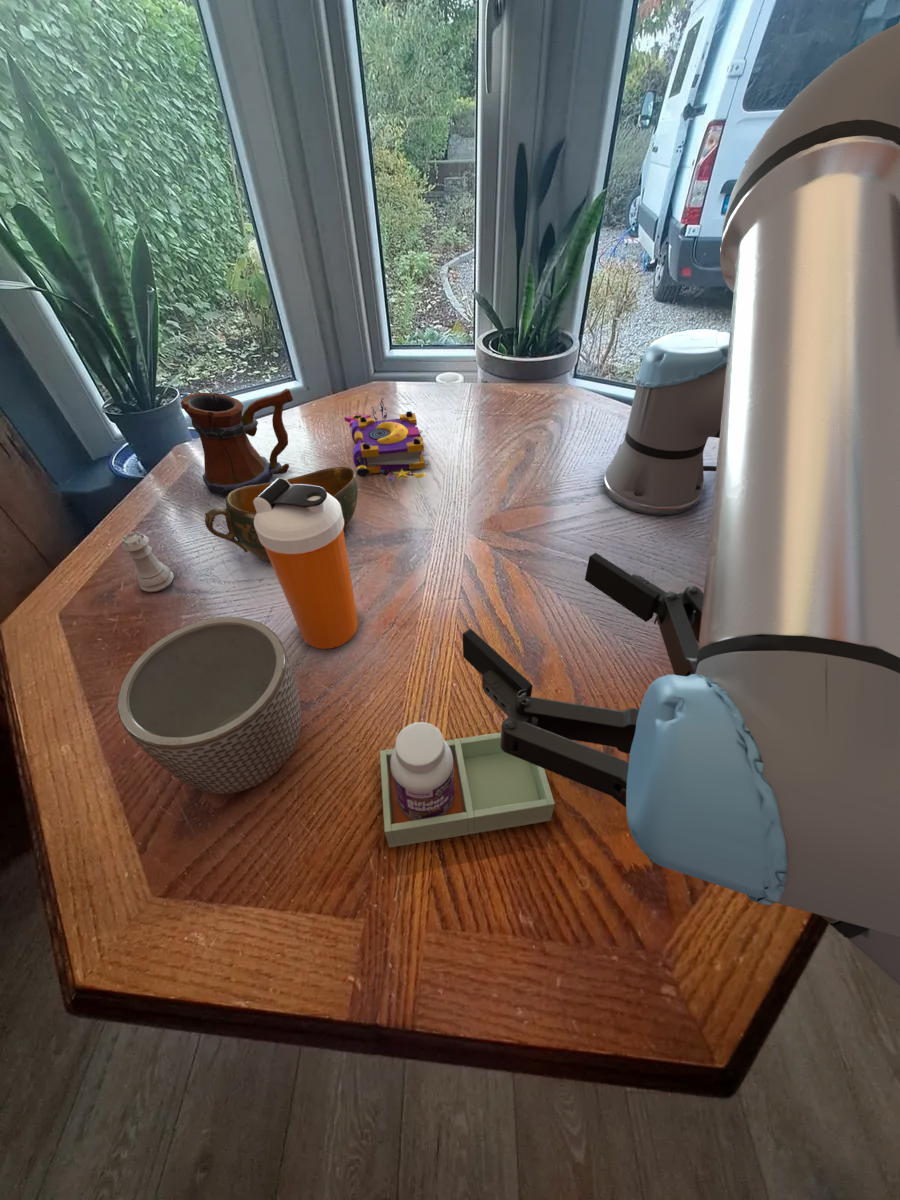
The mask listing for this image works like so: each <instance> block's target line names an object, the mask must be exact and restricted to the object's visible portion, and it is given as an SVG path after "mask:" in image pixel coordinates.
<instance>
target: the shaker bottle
mask: <svg viewBox="0 0 900 1200" xmlns="http://www.w3.org/2000/svg"><path fill="white" fill-rule="evenodd" d="M272 482H273V483H272ZM272 482H270V483H271V484H270V485H269V486H268V487H267V488H266V489H265V490H264V491H262V492H261V493H260V494H259V495H258V496H257V497H256V498H255V499H254V501H253V503H254V506H255V509H256V512H257V513H256V515H255V518H254V527H255V530H256V532H257V535H258V539H259V541H260V543H261V545H263V546H264V547H265V550H266V552H267V554H268V557H269V559H270V561H271V563H270V564H271V566H272V568H273V571H274V574H275V575H276V578H277V581H278V582H279V585H280V587H281V590H282V592H283V594H284V597H285V599H286V602H287V604H288V606H289V608H290V609H289V610H290V611H291V613H292V616H293V618H294V621H295V623H296V626H297V628H298V630H299V633H300V635H301V638H302V639H303V641H304V642H305V643H306V644H307V645H309V646H310V647H313V648H315V649H321V650H322V649H323V650H329V649H333V648H334V649H335V648H338V647H340V646H342V645H345V644H346V643H347V642H349V641H350V640H351V639H353V637H354V636H355V634H356V633H357V630H358V626H359V622H358V621H359V620H358V614H357V607H356V601H355V595H354V589H353V582H352V575H351V570H350V563H349V557H348V551H347V550H348V549H347V545H346V538H345V532H344V531H343V528H344V518H343V514H342V509H341V506H340V503H339V502H338V501H337V499H335V498H334V497H333V496H331V495H330V494H329V493H327V492H326V490H325V489H324V488H322V487H319V486H313V485H303V484H290V483H289V482H288V481H287V479H285V478H283V477H277V478H276V479H274V480H273V481H272Z"/></svg>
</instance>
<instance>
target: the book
mask: <svg viewBox="0 0 900 1200" xmlns="http://www.w3.org/2000/svg"><path fill="white" fill-rule="evenodd" d="M384 400H385V399H384V398H383V397H381V400H380V403H379V405H380V408H381V409H380V412H381V417H382V419H381V420H378V417H376V416H375V414H377V411H375V408H374V406H371V409H370V410H372V415H371V414H361V413H359V412H358V411H357V412H355V414H354V415H352V416H351V415H350V416H344V417H343V419H344V422H346V423H349V428H350V431H351V439H352V441H353V443H354V444H355V445H354V447H353V450H352V457H353V464H354V467H355V468H356V476H359V477H360V478H367V477H368V476H370V475H371V474H377V473H383V474H382V475H384V476H386V477H387V476H388V475H389V477H388V480H389V482H393V481H394V479H395V478H394V476H396V477H397V480H400V479H402V478H404V479H407V480H408V479H409V476H412V477H414V478H417V479H420V478H425V476H426V475H427V474H426V472H424V471H423V472H422V473H416V472H414V473H411V470H415V469H416V470H417V469H425V468H426V462H425V458H424V454H422V452H424V451H425V445H424V440H423V437H422V435H421V434H422V433H423V430H419V427H418V422H417V416H416V413H415V412H412V411H406V413H402V414H401V413H400V414H399V418H394V419H393V418H392V419H387V416H388V413H387V412H386V411H387V408H386V407H384ZM384 411H385V412H384ZM372 416H373V417H372ZM407 468H409V470H408V471H406V470H405V471H404V470H403V469H407ZM391 470H400V471H397V472H396V471H395V472H390V471H391Z"/></svg>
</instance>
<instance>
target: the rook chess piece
mask: <svg viewBox="0 0 900 1200" xmlns="http://www.w3.org/2000/svg"><path fill="white" fill-rule="evenodd" d="M128 534H129V536H128V535H126V534H124V535H123V536H122V539H121V542H122V544H121V549H122V550H123V551H126V552H127V553H128V555H129V558H130V559H132V560H133V562H134V564H135V566H136V569H137V571H136V574H137V576H136V579H137V584H139V587H140V589H141V590H143V591H145V592H149V593H157V592H161V591H164V590H165V589H167V588H168V587H170V585H171V584H172V583H173V580H174V578H175V575H174V573H173V572H172V570H171V568H170V567H169V566H167V565H166V564H165V563H163V562H161V561H159V559H158V558H157V556H156V555H155V554H154V552H153V548H152V546H150V545H149V542H150V538H149V537H148V536H147V535H145V534H143V532H141V531H136V532H135V533H134V531H130V532H128Z"/></svg>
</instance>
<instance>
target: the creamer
mask: <svg viewBox="0 0 900 1200" xmlns="http://www.w3.org/2000/svg"><path fill="white" fill-rule="evenodd" d="M355 471H356V470H354V469H353V468H351V467H350V466H334V467H328V468H324V469H323V468H322V469H319V470H316V471H313V472H309V473H306V474H302V475H299V476H295V477H291V478H287V479H286V480H287V481H288V482H289V483H290V484H303V485H313V486H319V487H322V488H324V489H325V490H326V492H327V493H329V494H330V495H331V496H333V497H334V498H335V499H337V501H338V502H339V503H340V506H341V509H342V514H343V518H344V528H343V531H344V533H345V532H346V531H347V529H348V528H349V524H350V521H351V520H352V518H353V516H354V514H355V511H356V508H357V503H358V496H359V485H358V479H357V473H356V472H355ZM273 482H274V481H271V482H269V483H265V484H258V485H251V486H245V487H241V488H237V489H235V490H233V491H231V492H230V493H229V494H228V495H227V497H225V507H213V508H211V509H209V510H208V511H206V512H204V516H205V517H204V525H205V527H206V529H207V531H208V532H209V533H211V534H212V535H213V536H215V537H217V538H220V539H223V540H225V541H229V542H231V543H232V544H234V545H236V546H238V547H239V548H240V549H242V550H243V552H244V553H247V552H249V553H251V554H252V555H254V556H256V557H258V558H259V559H261V560H262V561H264V562H265V563H270V564H271V561H270V559H269V557H268V554H267V552H266V550H265V547H264V546H263V545H261V543H260V541H259V539H258V535H257V532H256V530H255V527H254V518H255V515H256V513H257V512H256V509H255V506H254V503H253V501H254V499H255V498H256V497H257V496H258V495H259V494H260V493H261V492H262V491H264V490H265V489H266V488H267V487H268V486H269V485H270V484H271V483H273ZM218 515H219V516H220V515H223V516H224V518H225V523H226V527H227V530H228V532H227V533H223V532H220V531H218V530H217V529H216V528H214V526H213V525H214V524H213V523H214V522H215V519H216V517H217V516H218Z"/></svg>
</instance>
